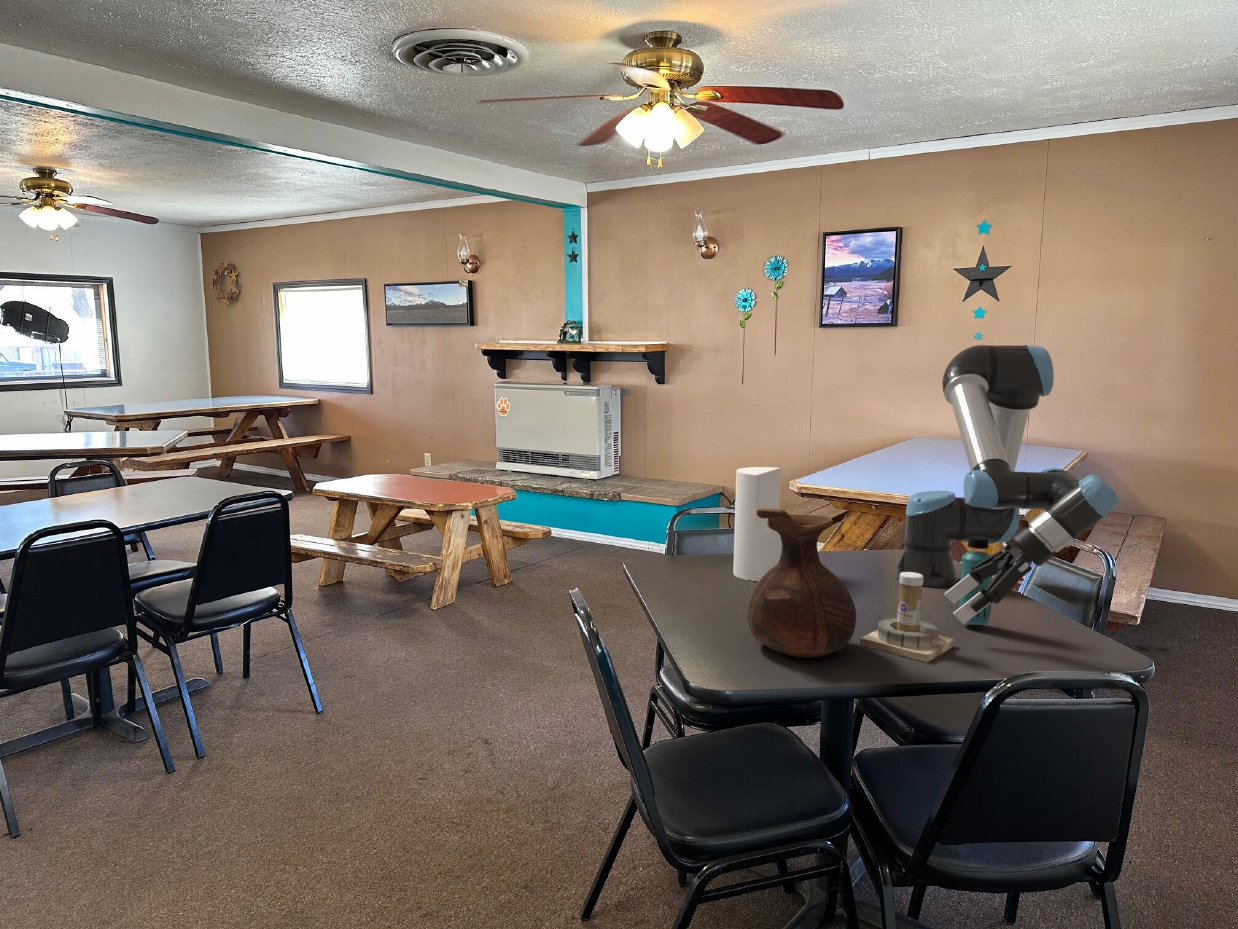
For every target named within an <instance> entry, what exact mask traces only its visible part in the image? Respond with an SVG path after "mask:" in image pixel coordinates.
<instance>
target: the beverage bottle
mask: <svg viewBox="0 0 1238 929" xmlns="http://www.w3.org/2000/svg"><path fill="white" fill-rule="evenodd" d="M967 547H969V548H972V549H978V550H968V551H966V552H965V553H963V555H962V556H961V572H960V573H961V575H960V581H961V580H962V579H963V578H964V577H966V576H967V575H968V574H969V573H970V571H971V567H972V566H974V565H976V564H978V563H979V562H981V561H983V560H984V559H986V558H988V557H989V556H991V554H989V553H988V552H985V551H980V550H987V549H989V543H988V539H987V538H985V537H979V536H972V537H969V541H968V542H967ZM993 578H994V576H991V577H989V578H987V579H984V580H983V583H982V585H980V584H979V583H978V582H977V581H976V582H977V583H978V584H979V585H978V586H976V587H975V588H974V589H973V590H971V591H970V592H969V593H967V594H966V595H965V596H964V597H962V598H961V599H960V600H959V601H958V609H959V608H960V607H961V606H962V605H964V604H965V603H966V602H967V601H969V600H970V599H971V598H972V597H974V596H975V595H976V594H978V593H979V592H980V591H979V590H981V589H983V588H984V589H986V587H987V586H988V585H989V583H990V582H991V581H992V579H993ZM991 606H992V603H991V602H990V604H989V605H988V606H987V607H985V608H984V609H983V610H981V611H980V612H979V613H978V614H976V615H975V616H974V617H972V618H971V619H970V620H969V621H967V622H966V623H965V624H970V625H977V626H982V625H983V626H985V625H987V624H989V621H990V615H991Z"/></svg>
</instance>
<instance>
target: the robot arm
mask: <svg viewBox="0 0 1238 929" xmlns="http://www.w3.org/2000/svg"><path fill="white" fill-rule="evenodd" d="M1054 373H1055V372H1054V366H1053V360H1052V357H1051V355H1050V353H1049V351H1048V350H1047V349H1046V348H1045V347H1042V346H1038V345H1028V344H1024V345H995V344H994V345H986V344H979V345H973V346H969V347H967V348H965V349H964V350H961V351H960V352H959V353H957V354H956V355H955V356H953V358H952V359H951V361H950V362H949V363H948V364H947V366H946V368H945V370H944V373H943V376H942V382H941V384H942V385H941V386H942V391H943V392H942V393H943V395H944V398H945V400H946V401H947V403H949V404H950V405H951V407H952V410H953V413H954V417H955V420H956V423H957V428H958V431H959V435H960V437H961V441H962V444H963V448H964V449H963V450H964V452H965V455H966V459H967V461H968V465H969V470H970V471H968V472H967V473H966V475H965V476H964V479H963V496H962V497H960V496H959V497H957V496H956V495H955V494H956V493H955V492H953V491H949V490H928V491H921V492H916V493H914V494H912V495H910V496H909V498H908V499H907V503H906V504H907V505H906V510H905V516H906V517H905V518H906V519H905V530H904V531H905V532H904V533H905V534H904V537H905V538H904V549H903V552H902V554H901V557H900V559H899V562H898V564H897V566H896V572H895V573H896V574H895V577H896V579H898V580H899V578H900V573H902V572H914V573H919V574H921V575H923V585H922V587H933V588H935V587H937V588H938V587H939V588H940V587H942V588H943V587H950V586H952V587H950V588H949V589H948V590H947V591H946V592H944V596H945V597H946V598H947V599H948V600H949V601H950V602H951V603H952V604H953V605H955V604H956V603H958V602H959V600H960V599H961V598H962V597H964V596H965V595H966V594H967V593H969V592H970V591H971V590H973V589H974V588H975V587H976V586H978V585H979V584H980V585H982V583H983V580H984V579H987V578H989V577H991V576H992V577H993V579H992V581H991V582H990V583H989V585H988V586H987V587H986V589H984V588H983V589H981V590H979V591H980V592H979V593H978V594H976V595H975V596H974V597H972V598H971V599H970V600H969V601H967V602H966V603H965V604H964V605H962V606H961V607H960V608H958V609H956V610H955V611H953V613H952V614H953V615H954V616H955V617H956V618H957V619H958V620H959V622H960V623H961V624H962V625H965V624H967V623H966V622H967V621H969V620H970V619H971V618H972V617H974V616H975V615H976V614H978V613H979V612H980V611H981V610H983V609H984V608H985V607H987V606H988V605H989V604H990V603H991V604H993V603H994V604H995V605H997V604H1000V602H1001V601H1002V600H1003V599H1004V598H1005V597H1006V596H1007V595H1008V594H1009V592H1010V591H1011V590H1012V589H1013V588H1014V587H1015V586H1016V585H1017V584H1018V583H1019V582H1020V581H1021V580H1022V579H1023V577H1025V576H1026V575H1027V574H1028V573H1029V572H1031V571H1032V570H1033V567H1032V566H1031V565H1030V562H1033V564H1034V565H1035V566H1037V567H1041V566H1043V564H1045V563H1047V562H1048V561H1049V560H1050V559H1052V558H1053V555H1054V552H1055V553H1059V552H1060V551H1061V550H1062V549H1064V548H1065V547H1066V548H1069V547H1070V546H1071V543H1072V542H1073V541H1074V540H1075V539H1077V538H1079V537H1080V536H1081V535H1082V534H1084V533H1085V532H1086V531H1088V530H1089V529H1090V528H1091V527H1093V526H1094V525H1095V524H1097V523H1098V522H1099V521H1101V520H1102V519H1103V518H1104V517H1107V516H1108V514H1109V513H1110V512H1111V511H1113V510H1114V509H1115V508H1116V507H1117V506H1118V505H1119V504H1120V497H1119V496H1118V495H1117V493H1116V492H1115V491H1114V490H1113V489H1112V488H1111V487H1110V486H1109V485H1108V484H1107V483H1106V482H1105V481H1104V480H1102V478H1100V477H1099V476H1097V475H1096V474H1088V475H1087V476H1085V477H1084V478H1082V479H1079V478H1077V477H1076V476H1075V475H1074V474H1072V473H1070V472H1069V471H1067V470H1064V469H1061V468H1060V467H1059V468H1058V467H1050V468H1046V469H1043V470H1042V471H1038V472H1037V471H1016V468H1017V467H1016V466H1017V462H1018V458H1019V453H1020V450H1021V445H1022V442H1023V437H1024V434H1025V429H1026V424H1027V420H1028V416H1029V412H1030V411H1032V410H1033V409H1035V408H1036V407H1037V406H1038V403H1039V400H1040V397H1047V396H1049V395H1050V394H1051V392H1052V390H1053V387H1054V380H1055V378H1054V377H1055V374H1054ZM1020 509H1022V510H1023V509H1024V510H1043V511H1041V512H1040V513H1039V514H1038V515H1036V516H1034V517H1033V518H1032V519H1031V520H1029V521H1028V523H1027V524H1028V527H1027V526H1023V527H1022V528H1020V529H1018V527H1019V523H1020ZM1017 530H1018V531H1017ZM972 536H979V537H985V538H987V539H988V545H989V544H991V545H993V544H1004V543H1008V542H1009V541H1010V540H1011V541H1012V542H1013V543H1014V544H1015V546H1012V545H1011V544H1010V543H1008V544H1006V545H1005V546H1004V547H1002V548H1001V549H1000V550H997V551H996V552H995V553H993V554H990V556H989V557H988V558H986V559H984V560H983V561H981V562H979V563H978V564H976V565H974V566H972V567H971V571H970V573H969V574H968V575H967V576H966V577H964V578H963V579H962V580H961V579H960V581H958V572H957V569H956V565H955V563H954V559H953V554H952V553H953V552H952V551H953V550H952V547H953V546H952V545H953V543H955V542H957V543H959V542H960V543H968V541H969V537H972ZM957 581H958V582H957ZM976 581H977V582H978V583H979V584H978V583H977V582H976Z"/></svg>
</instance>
